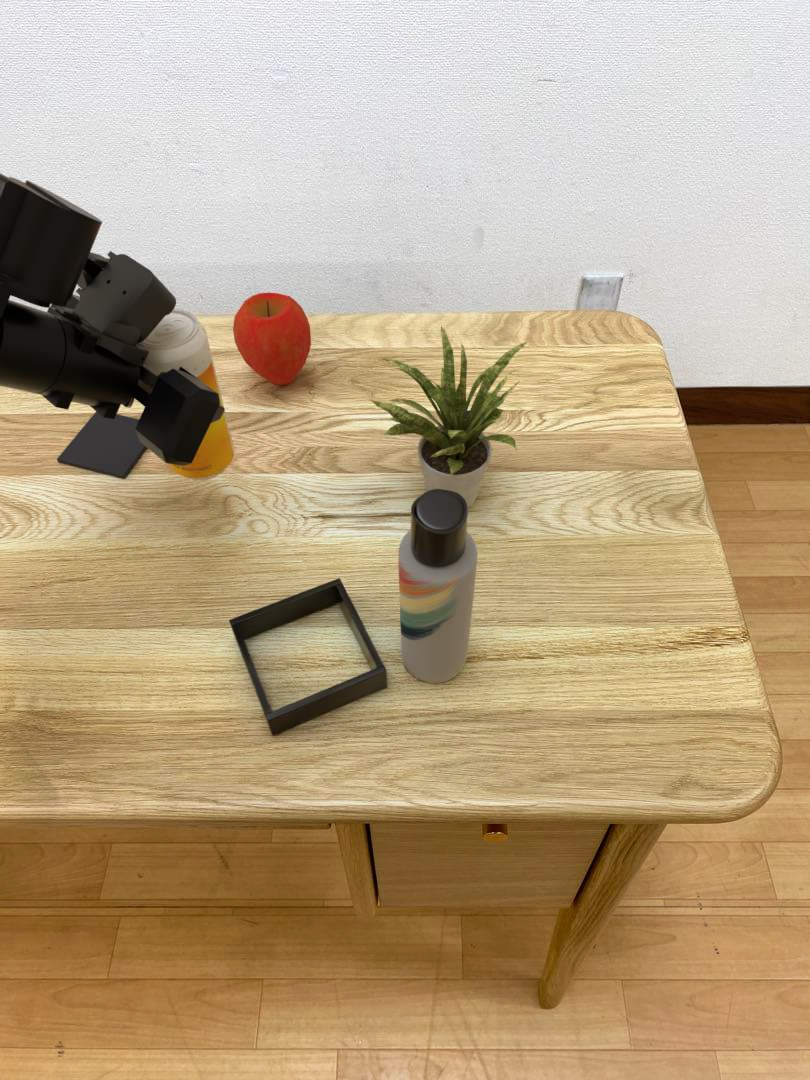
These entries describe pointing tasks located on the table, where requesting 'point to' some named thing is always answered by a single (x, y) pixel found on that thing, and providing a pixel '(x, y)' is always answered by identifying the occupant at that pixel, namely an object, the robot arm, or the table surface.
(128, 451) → the mat
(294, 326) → the apple
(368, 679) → the black square frame
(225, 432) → the beer can
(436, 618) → the lotion bottle
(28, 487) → the table surface
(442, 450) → the house plant
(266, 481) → the table surface
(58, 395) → the robot arm
